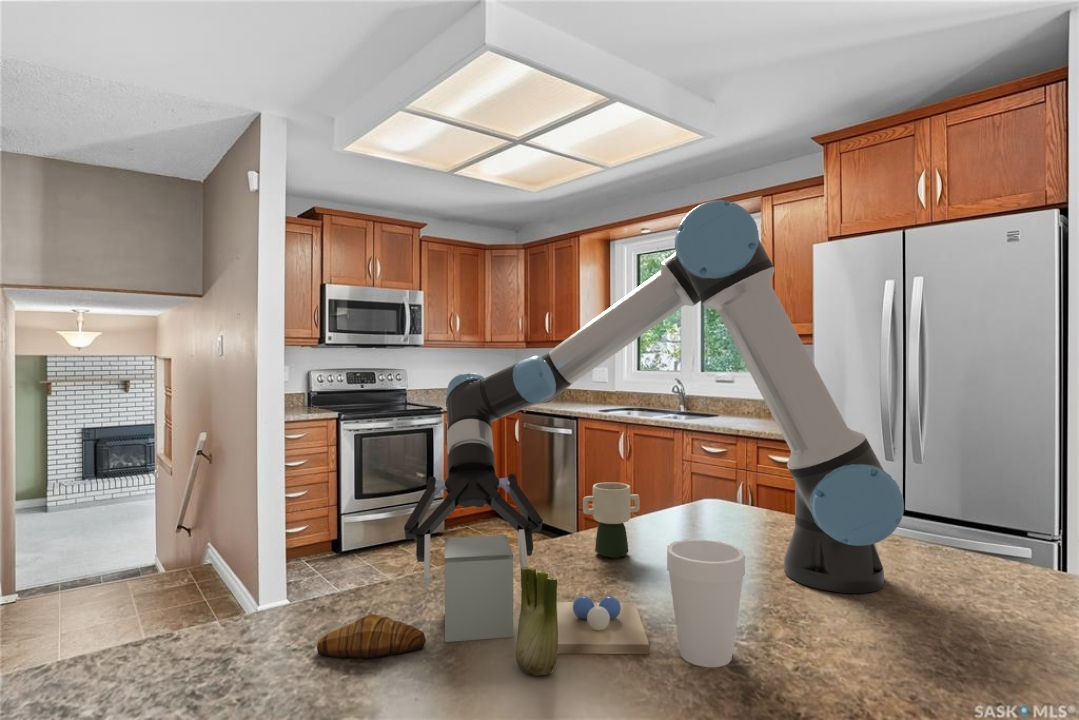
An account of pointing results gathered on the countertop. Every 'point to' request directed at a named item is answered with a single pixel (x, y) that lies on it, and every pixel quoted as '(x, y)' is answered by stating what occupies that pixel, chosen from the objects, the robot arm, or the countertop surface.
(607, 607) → the blue marble
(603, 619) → the marble white
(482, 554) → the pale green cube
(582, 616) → the blue marble
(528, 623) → the fennel bulb
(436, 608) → the countertop surface
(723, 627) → the foam cup
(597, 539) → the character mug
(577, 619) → the board
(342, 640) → the croissant
